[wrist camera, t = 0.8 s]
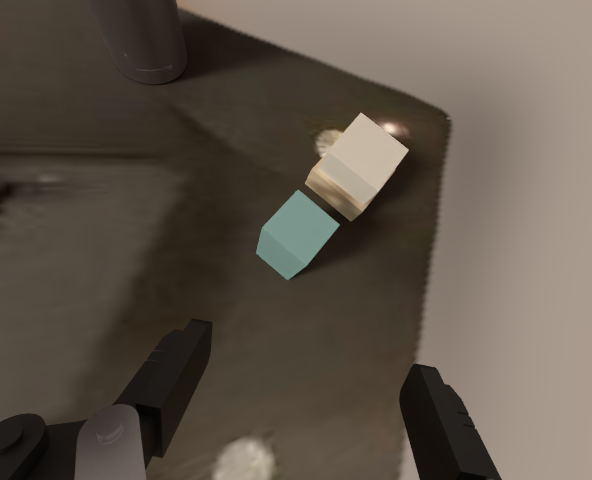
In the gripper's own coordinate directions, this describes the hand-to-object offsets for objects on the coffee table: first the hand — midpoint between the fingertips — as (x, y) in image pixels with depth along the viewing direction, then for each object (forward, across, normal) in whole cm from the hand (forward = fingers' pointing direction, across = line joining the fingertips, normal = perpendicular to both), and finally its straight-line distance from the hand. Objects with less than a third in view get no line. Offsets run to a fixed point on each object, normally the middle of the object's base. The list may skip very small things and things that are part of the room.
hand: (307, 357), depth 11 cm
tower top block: (+28, -4, -4) cm, 28 cm away
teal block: (+22, +3, +6) cm, 23 cm away
